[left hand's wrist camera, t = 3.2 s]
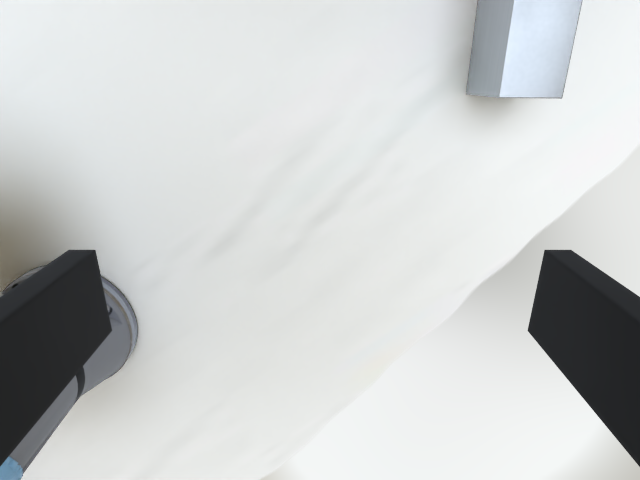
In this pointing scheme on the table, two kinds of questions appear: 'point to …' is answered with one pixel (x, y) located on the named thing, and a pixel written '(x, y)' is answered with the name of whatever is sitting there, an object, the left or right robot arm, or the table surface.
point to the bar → (522, 48)
